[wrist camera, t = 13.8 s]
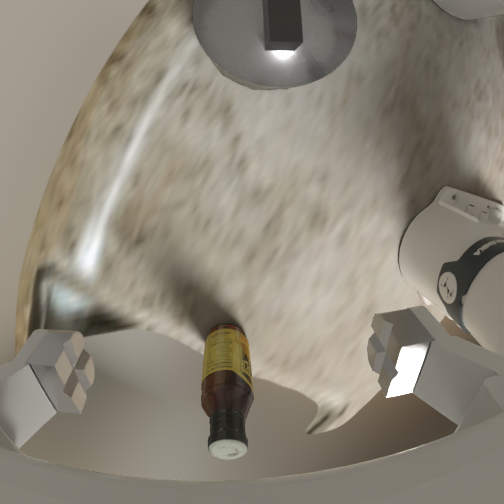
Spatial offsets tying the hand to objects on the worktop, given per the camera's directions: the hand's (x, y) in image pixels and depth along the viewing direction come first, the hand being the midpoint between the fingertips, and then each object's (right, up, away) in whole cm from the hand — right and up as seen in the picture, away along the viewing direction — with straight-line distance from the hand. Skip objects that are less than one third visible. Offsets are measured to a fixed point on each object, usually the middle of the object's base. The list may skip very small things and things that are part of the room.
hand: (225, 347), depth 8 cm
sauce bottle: (-3, -10, +38) cm, 40 cm away
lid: (+3, +24, +16) cm, 29 cm away
